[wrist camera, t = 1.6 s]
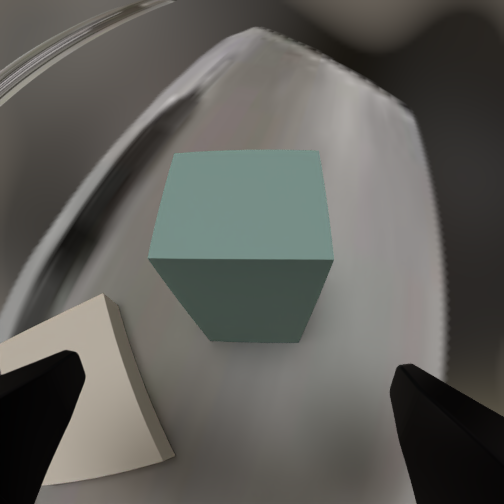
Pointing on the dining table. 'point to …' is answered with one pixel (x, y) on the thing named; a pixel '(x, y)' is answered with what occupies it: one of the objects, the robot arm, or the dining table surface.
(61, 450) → the plate
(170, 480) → the dining table surface
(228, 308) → the teal block
